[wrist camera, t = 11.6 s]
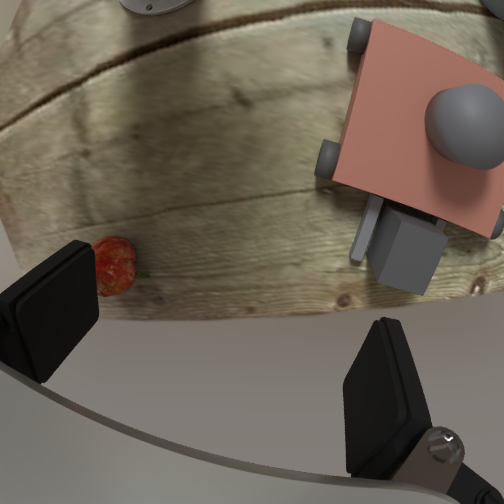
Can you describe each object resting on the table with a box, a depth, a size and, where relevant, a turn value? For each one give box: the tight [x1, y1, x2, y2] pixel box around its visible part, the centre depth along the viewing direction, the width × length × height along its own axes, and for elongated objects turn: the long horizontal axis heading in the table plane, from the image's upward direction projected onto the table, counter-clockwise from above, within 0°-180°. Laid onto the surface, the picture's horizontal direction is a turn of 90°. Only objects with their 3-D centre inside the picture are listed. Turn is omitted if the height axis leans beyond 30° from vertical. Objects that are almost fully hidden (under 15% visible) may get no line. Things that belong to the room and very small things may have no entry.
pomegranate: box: [91, 236, 150, 297], centre depth 36 cm, size 7×7×10 cm
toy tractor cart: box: [314, 17, 504, 261], centre depth 25 cm, size 24×21×9 cm
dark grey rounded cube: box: [366, 202, 449, 296], centre depth 29 cm, size 6×5×7 cm
